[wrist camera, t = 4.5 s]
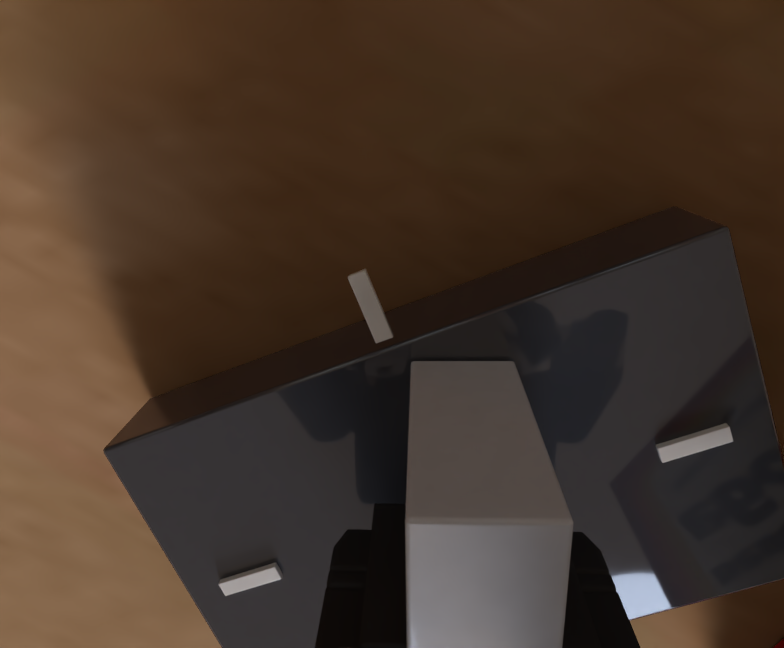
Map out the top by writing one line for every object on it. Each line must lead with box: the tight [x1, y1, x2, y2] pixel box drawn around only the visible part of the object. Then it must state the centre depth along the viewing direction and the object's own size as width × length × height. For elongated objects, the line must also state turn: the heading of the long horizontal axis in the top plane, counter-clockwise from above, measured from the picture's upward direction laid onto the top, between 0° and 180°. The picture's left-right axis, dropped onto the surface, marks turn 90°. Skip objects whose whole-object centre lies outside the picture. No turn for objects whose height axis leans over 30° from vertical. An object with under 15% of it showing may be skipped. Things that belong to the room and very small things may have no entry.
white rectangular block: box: [405, 361, 574, 648], centre depth 11 cm, size 7×2×5 cm, turn 1°
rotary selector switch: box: [104, 207, 784, 648], centre depth 14 cm, size 13×11×3 cm
